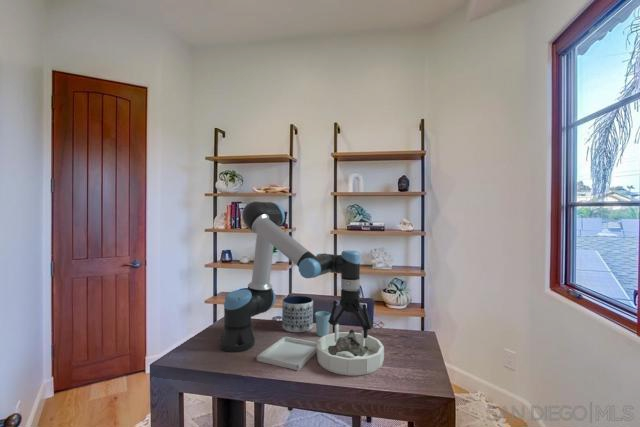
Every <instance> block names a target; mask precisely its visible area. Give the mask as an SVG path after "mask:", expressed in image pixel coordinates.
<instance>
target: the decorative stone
mask: <svg viewBox="0 0 640 427" xmlns="http://www.w3.org/2000/svg"><path fill="white" fill-rule="evenodd" d="M348 332H349V334H348V335H347V336H345V337H340V338H339V339H338V340H337V342H336V345H334V346H329V347H328V352H329V353H330V354H331V355H336V353H337V352H342V351H348V352H350V353H352V354H353V355H354V356H364V355H365V353H366V351H367V350H368V347H366V346H365V347H361V346H360V344H359V343H358V341H357V340H356V338H355V334H354V332H355V331H354V330H353V329H350V330H349V331H348Z"/></svg>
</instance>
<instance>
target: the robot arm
mask: <svg viewBox="0 0 640 427" xmlns="http://www.w3.org/2000/svg"><path fill="white" fill-rule="evenodd" d="M285 214H286V213H285V210H284V208H283V207H282V206H281V205H280V204H279V203H277V202H271V201H251V202H249V203H248V204H246V205H245V206H244V208H243V210H242V213H241V216H242V221H243V223H244V224H245V226H246V227H247V228H248V229H249V231H251V232H253V233H254V234H256V238H255V246H254V247H255V248H254V257H253V264H252V266H253V267H252V268H253V269H252V274H251V276H252V277H251V281H250V282H249V283H248V284H247V289H236V290H232V291H230V292H228V293H227V294H226V295H225V297H224V302H223V303H224V304H223V310H224V311H223V315H224V317H223V318H224V319H223V320H224V321H223V330H222V334H221V338H220V340H219V348H220V349H221V350H222V351H224V352H229V353H235V352H236V353H237V352H242V351H243V352H244V351H247V350H249V349H251V348H253V347H254V346H255V343H256V338H255V335H254V332H253V329H252V317H255V316H258V315H260V314H264V313H266V312H267V311H269V310H271V309H272V308H273V306H274V305H275V302H276V293H275V292H274V289H273V285H272V284H271V283H270V281H271V272H272V265H273V264H272V263H273V255H274V249H275V248H276V249H277V251H279V252H280V253H282V255H284V256H285V257H286V258H288V260H289V261H291V263H294V264H295V266H297V267H298V272H299V274H300V276H301V277H303V278H305V279H312V278H317V277H319V276H322V275H323V276H324V275H326V274H328V273H335V274H340V287H341V289H340V299H335V300H333V305H332V306H333V307H332V309H331V312H330V313H331V315H330V318H329V321H328V322H329V323H330V324H331V325H332V333H335V342H337V340H338V339H339V332H340V331H339V330H340V324H339V321H340V319H341V318H342V316H343V315H344V314H345V313H351V314H354V315H355V317H356V318H357V320H358V322H359V324H360V326H361V328H362V329H361V347H364V345H365V338H367V336H368V335H369V332H368V331H369V330H371V329H372V328H373V324H372V321H371V317H370V314H369V311H368V303H367V302H365V303H364V302H361V301H360V291H361V290H360V287H361V286H360V283H361V282H360V279H361V276H360V275H361V273H360V271H361V270H360V269H361V258H360V256H361V255H360V252H359V251H357V250H350V249H349V250H348V249H347V250H346V249H345V250H342V251H341V254H332V253H331V254H330V253H326V252H325V253H318V254H316V255H315V254H313V253H312V252H311V251H309V250H308V249H307V248H305V246H303V245H302V244H301V243H300V242H298V241H297V240H296V239H295V238H293V237H292V236H291V235H289V234H288V233H287V232H286V231H285V230H284V229H282V228H281V227H280V226H282V225H283V223H284V222H285V218H286V215H285ZM339 305H341V307H342V308H341V309H340V311H339V312H338V314H337V316H336V313H337V310H338V307H339ZM360 309H361V310H362V312H363V315H362V314H361V312H360V311H361V310H360ZM335 316H336V317H335Z"/></svg>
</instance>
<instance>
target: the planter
mask: <svg viewBox="0 0 640 427" xmlns="http://www.w3.org/2000/svg"><path fill="white" fill-rule="evenodd" d="M281 305H282V307H281V308H282V309H281V311H282V312H281V314H282V316H281V317H282V319H281V322H282V324H281V326H282V329H283V330H285V331H287V332H290V333H305V332H307V331H309V330H311V329H313V327H314V324H313V323H314V300H313V298H312V297H310V296H306V295H305V296H303V295H292V296H287V297H284V298H282V304H281Z"/></svg>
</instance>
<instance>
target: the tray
mask: <svg viewBox="0 0 640 427" xmlns="http://www.w3.org/2000/svg"><path fill="white" fill-rule="evenodd" d="M315 354H316V355H317V341H316V342H315V341H311V340H306V339H300V338H296V337H290V336H283V337H282V338H280V339H279V340H277V341H276V342H275V343H273V344H271V345H270V346H269V347H267V348H266V349H264V350H263V351H261V352H260V353H258V355H256V361H257V362H261V363H265V364H270V365H273V366H277V367H283V368H285V369H286V368H287V369H291V370H295V371H299V370H301V368H302V367H303V366H304V365H305V364H307V363H308V361H309V360H311V358H313V357H314V356H315Z"/></svg>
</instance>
